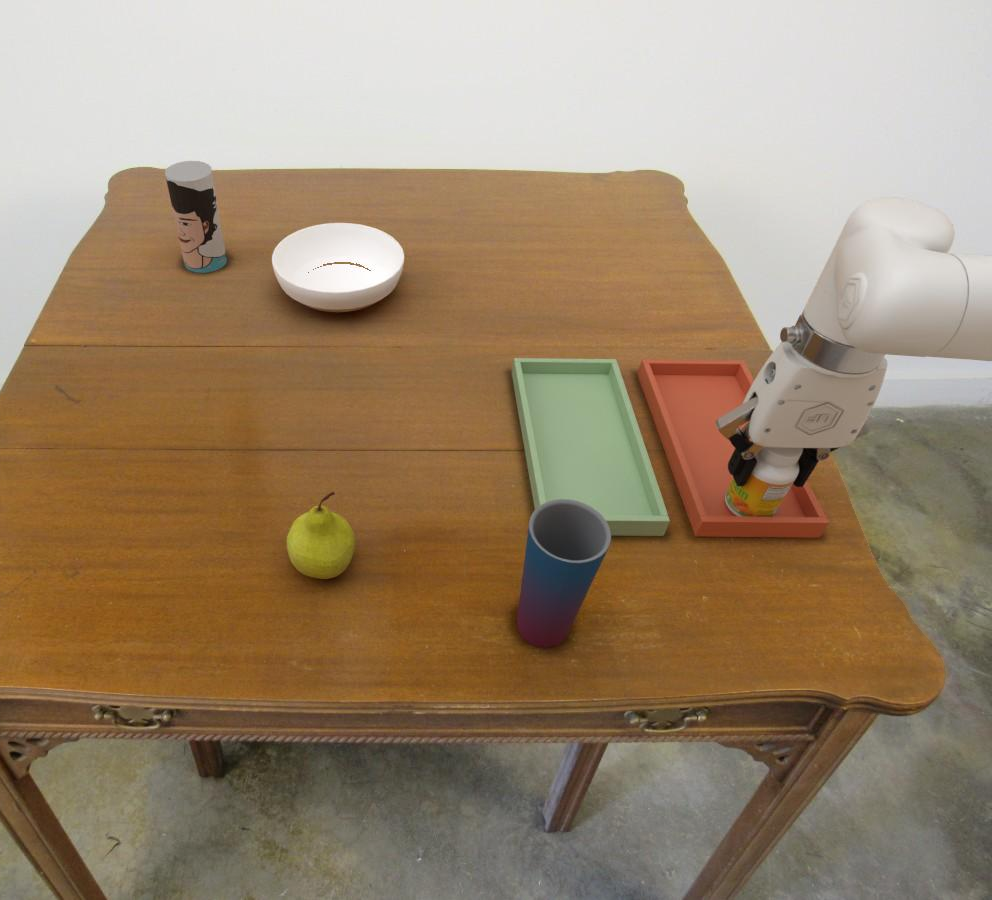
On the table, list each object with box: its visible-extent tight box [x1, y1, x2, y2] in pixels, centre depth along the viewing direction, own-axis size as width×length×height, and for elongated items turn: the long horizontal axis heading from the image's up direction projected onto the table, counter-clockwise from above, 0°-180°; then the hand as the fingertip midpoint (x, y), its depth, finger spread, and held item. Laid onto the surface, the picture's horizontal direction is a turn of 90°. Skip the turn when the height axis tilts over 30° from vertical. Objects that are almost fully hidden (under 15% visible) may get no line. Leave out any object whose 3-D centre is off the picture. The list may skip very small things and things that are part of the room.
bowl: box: [271, 222, 405, 313], centre depth 111 cm, size 20×20×6 cm
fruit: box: [286, 491, 356, 580], centre depth 73 cm, size 7×7×12 cm
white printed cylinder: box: [164, 160, 228, 274], centre depth 113 cm, size 7×7×15 cm
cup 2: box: [516, 499, 612, 649], centre depth 67 cm, size 7×7×15 cm
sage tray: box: [511, 357, 671, 537], centre depth 89 cm, size 28×14×3 cm, turn 0°
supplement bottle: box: [725, 447, 803, 517], centre depth 79 cm, size 5×5×10 cm
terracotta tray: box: [636, 358, 830, 539], centre depth 89 cm, size 28×14×3 cm, turn 0°
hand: (765, 475), depth 79 cm, fingers closed on supplement bottle, 5 cm apart
